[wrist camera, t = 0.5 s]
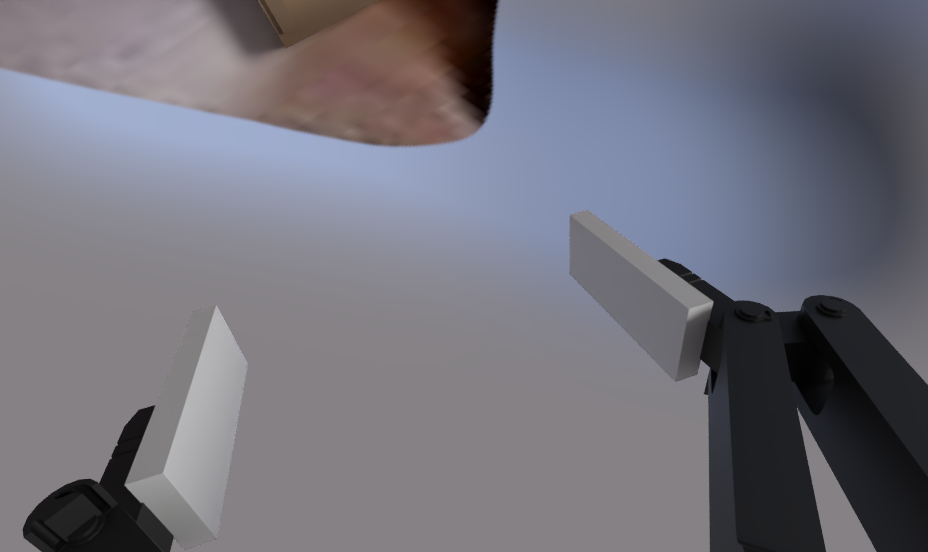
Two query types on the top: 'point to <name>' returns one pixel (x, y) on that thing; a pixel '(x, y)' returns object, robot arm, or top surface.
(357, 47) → the top surface
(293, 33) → the tan flat block
